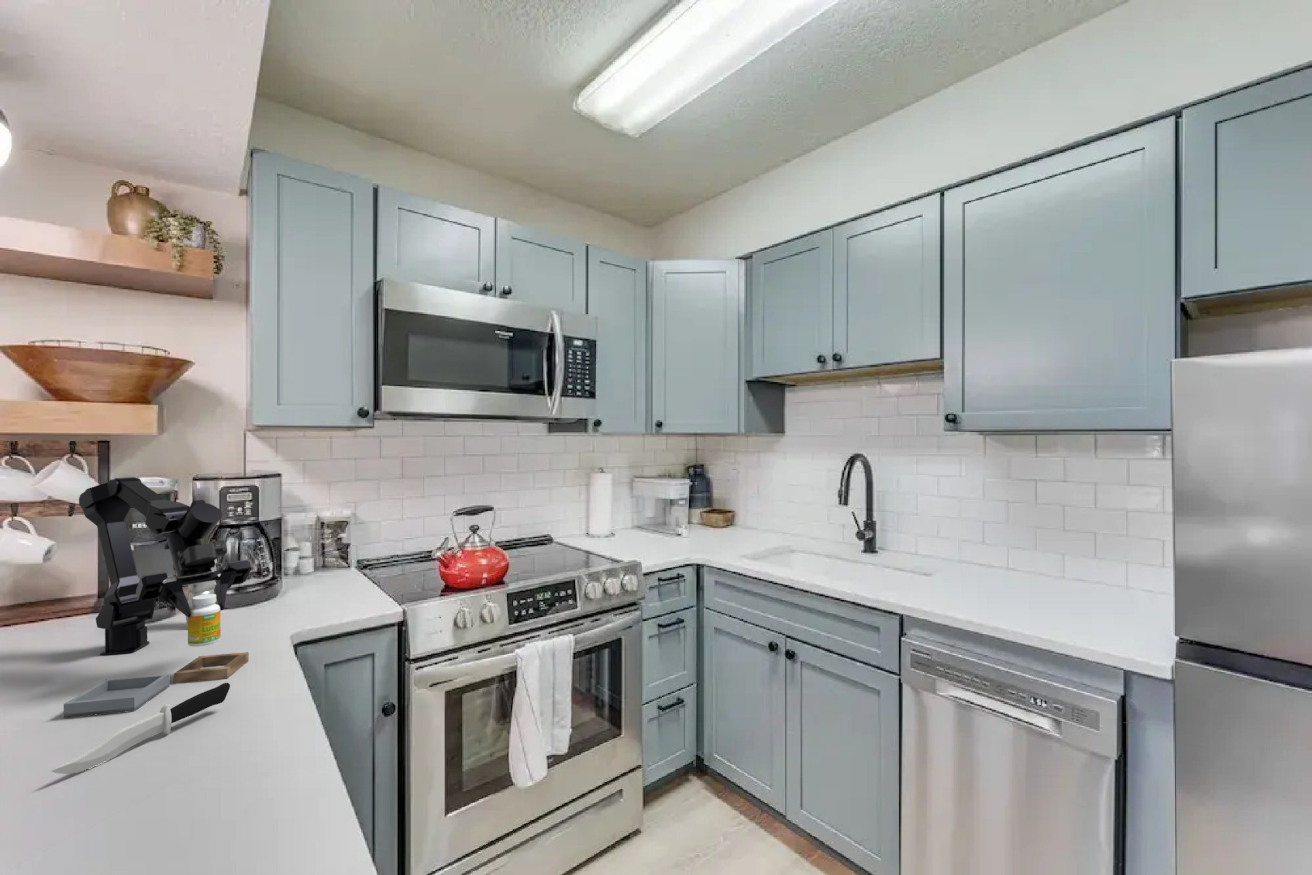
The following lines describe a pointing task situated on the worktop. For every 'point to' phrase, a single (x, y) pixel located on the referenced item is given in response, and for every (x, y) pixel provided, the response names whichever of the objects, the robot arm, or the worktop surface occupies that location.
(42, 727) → the worktop surface
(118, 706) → the tray
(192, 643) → the supplement bottle
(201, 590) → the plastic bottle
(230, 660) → the wooden frame
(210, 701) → the knife
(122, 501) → the robot arm
